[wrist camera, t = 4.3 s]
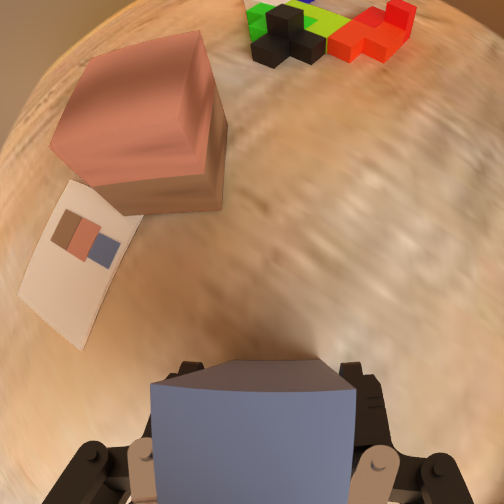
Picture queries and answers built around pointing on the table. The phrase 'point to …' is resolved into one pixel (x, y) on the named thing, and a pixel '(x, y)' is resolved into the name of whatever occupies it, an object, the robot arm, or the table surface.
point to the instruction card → (76, 261)
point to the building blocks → (325, 31)
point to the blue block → (254, 434)
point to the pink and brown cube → (148, 128)
